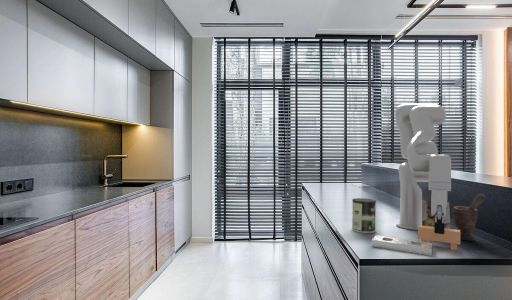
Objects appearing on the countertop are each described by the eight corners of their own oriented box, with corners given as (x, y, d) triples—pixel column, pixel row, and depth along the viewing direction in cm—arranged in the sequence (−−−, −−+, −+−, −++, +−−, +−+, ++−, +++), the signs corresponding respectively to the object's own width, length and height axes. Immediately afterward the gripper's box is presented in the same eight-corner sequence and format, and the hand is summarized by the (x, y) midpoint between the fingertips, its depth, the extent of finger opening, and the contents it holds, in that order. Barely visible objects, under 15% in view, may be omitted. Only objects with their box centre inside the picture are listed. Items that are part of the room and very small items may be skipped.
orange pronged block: (417, 245, 125) (418, 227, 125) (418, 242, 129) (418, 225, 129) (460, 251, 118) (460, 232, 118) (459, 248, 122) (459, 230, 122)
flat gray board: (371, 246, 122) (371, 239, 122) (375, 241, 129) (375, 235, 129) (431, 255, 112) (431, 248, 112) (432, 249, 119) (432, 243, 119)
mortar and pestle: (487, 240, 133) (488, 192, 133) (483, 244, 127) (484, 194, 127) (455, 235, 141) (456, 190, 141) (450, 238, 135) (451, 191, 135)
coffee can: (377, 229, 149) (378, 199, 149) (372, 234, 140) (373, 202, 140) (355, 226, 154) (355, 197, 154) (349, 231, 145) (349, 200, 145)
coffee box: (451, 240, 132) (452, 201, 133) (441, 242, 130) (442, 202, 130) (430, 235, 141) (431, 198, 141) (421, 236, 138) (421, 199, 138)
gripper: (429, 184, 133) (429, 226, 132) (427, 187, 118) (427, 234, 117) (450, 185, 129) (450, 228, 128) (451, 188, 114) (451, 237, 113)
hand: (439, 231), depth 123 cm, fingers open, 9 cm apart
